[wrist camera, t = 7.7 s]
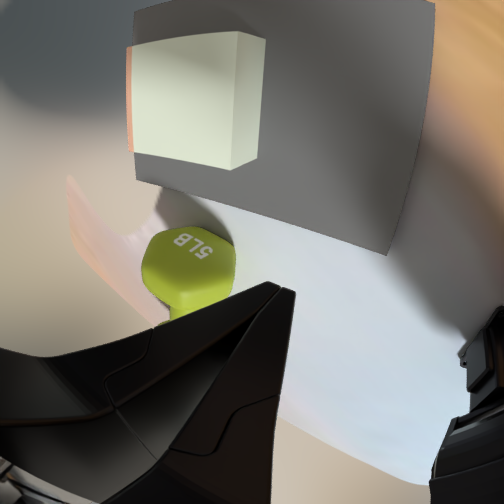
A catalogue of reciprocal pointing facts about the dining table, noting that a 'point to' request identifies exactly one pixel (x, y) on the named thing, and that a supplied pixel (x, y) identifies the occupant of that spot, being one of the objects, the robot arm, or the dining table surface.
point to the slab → (196, 98)
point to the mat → (315, 110)
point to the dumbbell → (188, 269)
